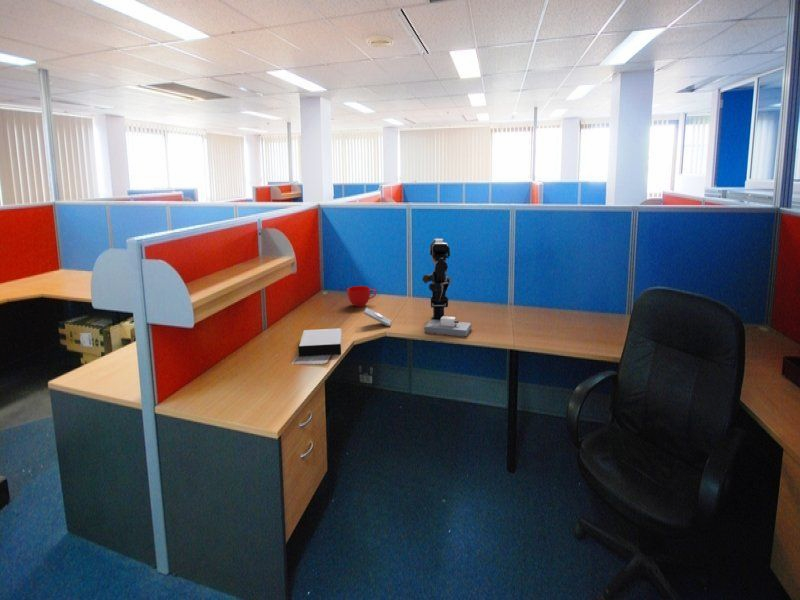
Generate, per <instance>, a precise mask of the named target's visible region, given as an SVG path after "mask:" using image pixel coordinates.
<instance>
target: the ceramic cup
mask: <svg viewBox="0 0 800 600" xmlns="http://www.w3.org/2000/svg"><path fill="white" fill-rule="evenodd" d="M346 291H347V297H348V300H349V302H350V304H351V305H353V306H354V307H355V306H358V308H359V307H360V306H362V307H365V306H366V304H367V303H368V302H369V300H371V299H372V298H375V297H376V296H377V294H378V293H377V290H376V289H374V288H373V289H372V288H370V287H369V286H364V285H355V286H350V287H348V288H347V290H346ZM372 291H373V292H374V291H375V293H374V294H373V295H372V296H370V295H371V293H372ZM364 305H365V306H364ZM360 308H361V307H360Z"/></svg>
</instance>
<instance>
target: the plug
mask: <svg viewBox="0 0 800 600" xmlns="http://www.w3.org/2000/svg"><path fill="white" fill-rule="evenodd" d="M459 322H460V321H459V320H456V317H455V316H447V315H445V316H442V317H441V325H443V326H455V327H456V325H455V324H456V323H459Z"/></svg>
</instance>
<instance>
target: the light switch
mask: <svg viewBox="0 0 800 600" xmlns="http://www.w3.org/2000/svg"><path fill="white" fill-rule="evenodd" d="M363 314H364V315H365V316H367V317H369V318H371V319H373V320H375V321H377V322H379V323H380V324H382V325H384V326H387V327H389V326H390V327H391V325H392V320H391V319H389V318H388V317H386V316H384V315H382V314H380V313H379V312H376V311H375V310H373V309H371V308H368V307H365V309H364V312H363Z"/></svg>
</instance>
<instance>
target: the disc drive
mask: <svg viewBox="0 0 800 600" xmlns="http://www.w3.org/2000/svg"><path fill="white" fill-rule="evenodd" d="M342 337H343V335H342V328H338V327H337V328H325V329H321V328H320V329H304V330H303V333H302V336H301V339H300V342H299V345H298V347H297V348H298V357H316V356H317V357H318V356H319V357H320V356H336V355H337V356H338V355H342V342H343V341H342V340H343V339H342Z"/></svg>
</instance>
